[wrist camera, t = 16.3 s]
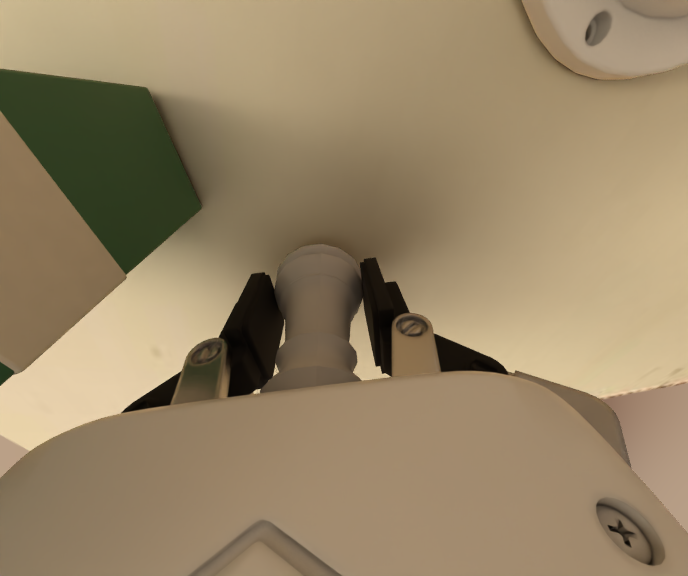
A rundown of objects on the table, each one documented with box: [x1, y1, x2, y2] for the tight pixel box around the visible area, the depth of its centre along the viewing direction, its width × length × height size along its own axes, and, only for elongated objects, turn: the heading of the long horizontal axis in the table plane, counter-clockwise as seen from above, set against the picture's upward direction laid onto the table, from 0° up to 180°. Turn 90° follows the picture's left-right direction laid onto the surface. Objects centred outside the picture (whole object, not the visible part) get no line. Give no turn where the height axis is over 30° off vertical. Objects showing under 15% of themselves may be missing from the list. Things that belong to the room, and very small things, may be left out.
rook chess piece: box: [260, 244, 363, 393], centre depth 10 cm, size 4×4×8 cm
